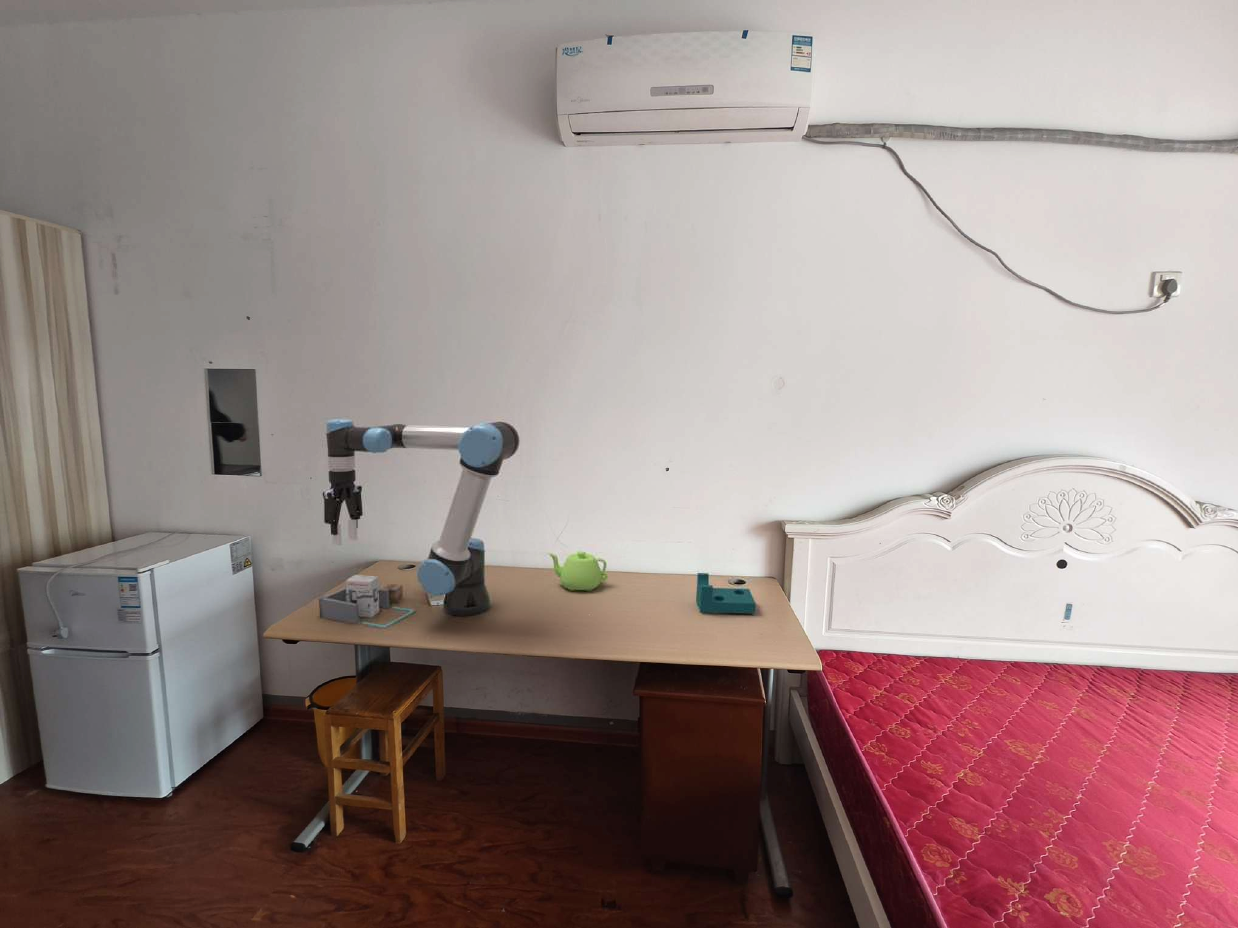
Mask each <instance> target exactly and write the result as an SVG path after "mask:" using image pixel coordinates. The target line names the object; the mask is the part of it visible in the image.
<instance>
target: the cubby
mask: <svg viewBox="0 0 1238 928" xmlns="http://www.w3.org/2000/svg"><path fill="white" fill-rule="evenodd" d="M382 588H383V587H382ZM382 588H380V587H379V608H383V609H389V608H390V604H389V590H388V589H382ZM318 606H319V607H318V608H319V618H323V619H328V620H333V621H337V622H343V623H347V624H353V625H358V624H359V623H360V618H359V617H360V616H359V612H358V604H355V603H350V602H347V601H346V586H345V587H343V588H341V589H338V590H336V591H334V592H332V593H329V594H327V595H324V596H321V597H320V598H318Z"/></svg>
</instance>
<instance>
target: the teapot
mask: <svg viewBox="0 0 1238 928" xmlns="http://www.w3.org/2000/svg"><path fill="white" fill-rule="evenodd" d="M547 554H548V555H549V556H550V557H551V558H552V561H553V570H554V573H555V575H556V576H558V577H559V580H560V583H561V584H562V586H563V587H564V588H566V589H568V591H587V592H590V591H593V589H596V588H598V586H599V585H600V584H601V582H602V581H607V579H608V574H607V573H605V572H606V568H607V562H606V560H605V559H604V558H601V557H599V558H596V557H595V556H594V555H593V554H590V553H587V552H585V551H581V550H580V551H577V552H576V553H573V554H570V555H568V556H567V558H566V559H565V561H564V563H563V564H562V565H563V566H562V567H561V565H560V564H559V558H558V556H557V555H556V554H554V553H552V552H551V553H550V552H548V553H547ZM599 562H601V563H603V567H602V570H601V567H600V565H599Z"/></svg>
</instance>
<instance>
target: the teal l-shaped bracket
mask: <svg viewBox="0 0 1238 928" xmlns="http://www.w3.org/2000/svg"><path fill="white" fill-rule="evenodd" d="M696 578H697V579H696V593H695V602H696V606H698V607H699V608H698V607H697V608H698V609H699V613H714V614H716V613H719V614H720V613H723V614H725V613H726V614H751V613H755V614H756V609H757V608H756V606H757V605H756V604H757V603H756V600H755V598H754V596H753V595H752V592H751V590H750V589H749V588H733V587H732V588H726V587H724V588H723V587H714V586H713V584H710V583H709V581H710V579H709V578H710V575H709V573H707V572H697V577H696Z"/></svg>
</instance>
